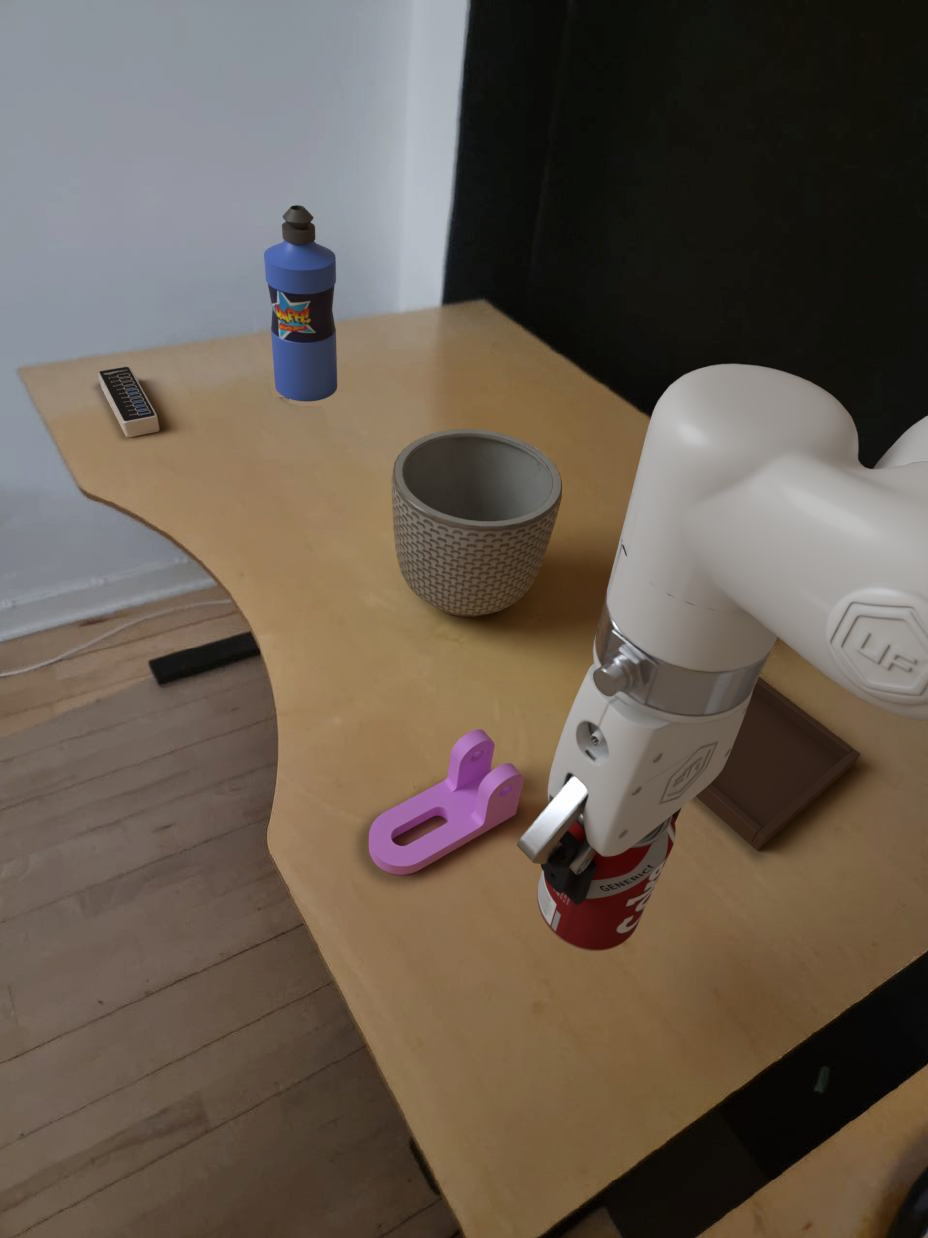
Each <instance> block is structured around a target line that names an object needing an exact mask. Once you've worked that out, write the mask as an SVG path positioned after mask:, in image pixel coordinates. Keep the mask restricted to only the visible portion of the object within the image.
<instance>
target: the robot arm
mask: <svg viewBox="0 0 928 1238" xmlns="http://www.w3.org/2000/svg"><path fill="white" fill-rule="evenodd" d="M647 426H648V427H647V430H646V434H645V438H644V442H643V447H642V450H641V454H640V458H639V461H638V466H637V469H636V474H635V478H634V482H633V486H632V489H631V493H630V497H629V501H628V505H627V509H626V514H625V517H624V521H623V526H622V529H621V533H620V537H619V541H618V545H617V548H616V554H615V556H614V560H613V566H612V569H611V573H610V576H609V579H608V585H607V589H606V592H605V597H604V599H603V600H604V601H603V605H602V609H601V613H600V616H599V620H598V624H597V628H596V633H595V637H594V639H593V647H592V656H593V663H592V665H590V667H589V668H588V670H587V672H586V674H585V676H584V679H583V681H582V683H581V685H580V687H579V688H578V691H577V693H576V696H575V698H574V701H573V703H572V706H571V708H570V711H569V713H568V716H567V718H566V720H565V723H564V726H563V728H562V732H561V734H560V738H559V741H558V744H557V747H556V749H555V753H554V757H553V761H552V765H551V768H550V772H549V777H548V784H547V800H548V805H547V806H546V807H545V808H544V809H543V810H542V811H541V813H540V814H539V815H538V816H537V818H536V819H535V820H534V821H533V822H532V823H531V825H530V826H529V827H528V828H527V829H526V831H525V832H524V833H523V834H522V836H521V837H520V838H518V841H517V843H516V847H518V849H520V851H521V852H522V853H523V854H524V855H525V856H526V857H527V858H528V859H529V860H530V861H531V862H532V863H533V864H537V865H540V867H541V871H542V870H543V871H544V877H545V879H546V880H547V882H548V883H549V884H550V885H551V887H552V888H553V889H554V890H555V891H557V892H558V893H563V892H564V893H565V894H566V895H567V897H568V898H569V899H570V900H571V901H572V902H573V903H574V904H576V905H579V904H581V903H582V902H583V901H584V900H585V899H586V896H587V893H588V891H589V888H590V885H591V882H592V879H593V876H594V873H595V870H596V867H597V866H596V863H595V861H594V860H593V858H594V856H595V855H596V853H597V852H598V853H599V854H601V855H602V856H615V855H618V854H621V853H623V852H624V851H626V850H627V849H629V848H630V847H632V846H633V845H634V844H636V843H637V842H638V841H640V840H641V839H642V838H644V837H645V836H646V835H647V834H649V833H650V832H651V831H652V830H654V829H655V828H656V827H658V826H659V825H660V824H661V823H663V822H664V821H665V820H666V819H668V818H669V817H670V816H671V815H673V817H674V821H675V823H676V822H677V819H678V817H679V815H680V813H681V811H682V809H683V807H684V806H686V805H687V803H689V802H690V801H692V799H694V798H695V797H696V795H697V794H699V793H700V792H701V791H702V790H703V789H705V788H706V787H707V786H708V785H709V784H710V783H711V782H712V781H713V780H714V779H715V778H716V777H717V776H718V775H719V774H720V772H721V771H722V769H723V768H724V766H725V764H726V761H727V759H728V757H729V754H730V752H731V749H732V747H733V744H734V742H735V739H736V737H737V734H738V732H739V729H740V727H741V724H742V721H743V719H744V716H745V713H746V710H747V708H748V705H749V702H750V699H751V696H752V692H753V689H754V687H755V685H756V682H757V680H758V678H759V677H761V674H762V671H763V669H764V667H765V665H766V662H767V661H768V658H769V656H770V654H771V652H772V650H773V648H774V645H775V643H776V641H777V639H780V640H781V641H782V642H783V643H784V644H786V645H787V646H788V647H790V648H791V649H792V650H793V651H795V653H797V654H798V655H799V656H801V657H802V658H803V659H804V660H805V661H806V662H807V663H809V664H810V665H812V666H813V667H814V668H815V669H816V670H818V671H819V672H820V673H822V675H824V676H825V677H827V678H828V679H830V680H831V681H832V682H833V683H835V684H836V685H838V686H839V687H840V688H841V689H843V690H845V691H846V692H848V693H849V694H851V695H853V696H855V697H857V698H858V699H859V700H861V701H863V702H864V703H867V704H869V705H871V706H873V707H875V708H878V709H879V710H882V711H885V712H887V713H890V714H892V715H896V716H898V717H901V718H905V719H908V720H909V719H910V720H913V721H914V720H915V721H918V722H919V721H920V722H928V415H927V416H924V417H923V418H922V419H920V420H918V421H917V422H916V423H914V424H913V425H911V426H910V427H909V428H908V429H907V430H906V431H904V432H903V434H901V435H900V437H899V438H898V439H897V440H895V442H894V443H893V444H892V445H891V447H890V448H888V449H887V451H886V452H885V453H884V454H883V455H882V457H881V458H880V459H879V460H878V461H877V463H875V466H873V468H868V467H866V466H864V465H863V464H862V463H861V461H860V460H859V435H858V431H857V427H856V424H855V422H854V420H853V417H852V415H851V414H850V413H849V411H848V410H847V409H846V408H845V406H844V405H843V404H842V403H841V402H840V401H839V400H838V399H837V398H836V397H835V396H834V395H832V394H831V393H829V392H828V391H827V390H825V389H824V388H822V387H821V386H819V385H817V384H815V383H813V382H812V381H810V380H807V379H805V378H803V377H800V376H798V375H795V374H792V373H789V372H786V371H785V370H779V369H776V368H772V367H766V366H761V365H755V364H742V363H721V364H713V365H708V366H705V367H701V368H697V369H695V370H692V371H690V372H687V373H685V374H683V375H682V376H680V377H679V378H678V379H676V380H675V381H673V383H671V384H670V385H669V386H668V387H667V389H665V391H664V392H663V394H662V395H661V396H660V397H659V399H658V400H657V402H656V403H655V406H654V409H653V410H652V413H651V417H650V421H649V424H648V425H647ZM575 821H576V822H577V823H578V824H579V825H580V826H581V827H582V828H583V829H584V830H585V832H586V837H587V838H586V839H585V841H584V843H583V844H581V843H580V842H579V841H578V840H577V839H576V838H575V837H574V836H573V835H572V834H571V833H570V832H569V831H568V829H569V828H570V827H571V826H572V825H573V823H574V822H575Z"/></svg>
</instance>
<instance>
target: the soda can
mask: <svg viewBox="0 0 928 1238" xmlns="http://www.w3.org/2000/svg"><path fill="white" fill-rule="evenodd" d="M568 831H569V832H570V833H571V834H572V835H573V836H574V837H575V838H576V839H577V840H578V841H579V842H580V843H581V844H583V843H584V841H585V839H586V838H587V837H586V832H585V830H584V829H583V828H582V827H581V826H580V825H579V824H578V823H577V822H576V821H575V822H574V823H573V825H572V826H571V827H570V828H569V829H568ZM676 833H677V829H676V822H675V821H674V817H673V815H671V816H670V817H669V818H668V819H666V820H665V821H664V822H663V823H661V824H660V825H659V826H658V827H656V828H655V829H654V830H652V831H651V832H650V833H649V834H647V835H646V836H645V837H644V838H642V839H641V840H640V841H638V842H637V843H636V844H634V845H633V846H632V847H630V848H629V849H627V850H626V851H624V852H623V853H621V854H618V855H615V856H602V855H601V854H599V853H598V852H597V853H596V855H595V856H594V858H593V860H594V861H595V863H596V866H597V867H596V870H595V873H594V876H593V879H592V882H591V885H590V888H589V891H588V893H587V896H586V899H585V900H584V901H583V902H582V903H581V904H579V905H576V904H574V903H573V902H572V901H571V900H570V899H569V898H568V897H567V895H566V894H565V893H564V892H563V893H558V892H557V891H555V890H554V889H553V888H552V887H551V885H550V884H549V883H548V882H547V880H546V879H545V877H544V871H543V870H542V869H541V873H540V878H539V881H538V885H537V890H536V891H537V893H536V902H537V906H538V910H539V914H540V916H541V918H542V920H543V922H544V923H545V925H546V926H547V928H548V929H549V930H550V931H551V932H552V933H553V935H555V936H556V937H557V938H558V939H560V940H561V941H562V942H564V943H565V944H567V945H569V946H571V947H574V948H576V949H579V950H582V951H583V950H584V951H588V952H589V951H590V952H602V951H608V950H612V949H614V948H617V947H619V946H621V945H622V944H624V943H625V942H626V941H628V940H629V939H630V938H631V937H632V935H633V934H634V933H635V931H636V929H637V927H638V925H639V923H640V920H641V919H642V916H643V914H644V912H645V910H646V907H647V905H648V903H649V901H650V898H651V896H652V894H653V892H654V890H655V887H656V885H657V883H658V881H659V878H660V876H661V874H662V872H663V870H664V867H665V865H666V863H667V861H668V858H669V856H670V854H671V852H672V849H673V847H674V846H675V845H674V844H675V842H676Z"/></svg>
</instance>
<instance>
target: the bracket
mask: <svg viewBox="0 0 928 1238" xmlns="http://www.w3.org/2000/svg"><path fill="white" fill-rule="evenodd" d="M495 746H496V745H495V742H494V741H493V739H491V737H490V736H489V734H487V732H486V731H485V730H484V729H481V728H477V729H473V730H471V731H469V732H467V733H465V734H464V735H463V736H462V737H460V738H459V739H458V740H457V741H456V743H455V744H454V745H453V747H452V748H451V750H450V754H449V762H448V763H449V765H448V772H447V776H446V778H445V779H444V780H443V781H441V782H438V783H437V784H435V785H433V786H431V787H429V788H427V789H426V790H424V791H422V792H420V793H418V794H416V795H414V796H412V797H410V798H409V799H407V800H405V801H402V802H401V803H399V804H397V805H395V806H393V807H392V808H390V809H387V810H386V811H384V812H382V813H381V814H380V815H379V816H377V817H376V818H375V819H374V821H373V822H372V824H371V826H370V828H369V831H368V852H369V856H370V857H371V860H372V861H373V863H374V864H375V866H377V867H378V868H379V869H381V870H382V871H384V872H386V873H389V874H392V875H398V876H405V875H407V876H408V875H412V874H414V873H416V872H418V871H420V870H422V869H424V868H426V867H427V866H429V865H431V864H432V863H434V862H436V861H438V860H440V859H441V858H443V857H445V856H446V855H448V854H450V853H451V852H454V851H455V850H457V849H459V848H460V847H462V846H464V845H465V844H467V843H470V842H471V841H472V840H475V839H476V838H478V837H479V836H481V835H483V834H485V833H487V832H488V831H489V830H491V829H493V828H495V827H497V826H498V825H500V824H502V823H503V822H506V821H507V820H509V819H510V818H513V817H514V816H516V815H517V811H518V806H519V802H520V798H521V794H522V789H523V785H524V781H525V778H524V776H523V774H522V773H521V772H520V771H519V770H518V769H517V768H516V766H515V765H514V764H513V763H511V762H505V763H503V764H500V765H498V766H496V767H495V768H493V769H492V764H493V763H492V762H493V757H494V752H495ZM491 769H492V770H491ZM434 817H442V818H444V819H445V820H446V822H445V823H444V824H442V825H441V826H439V827H437V828H434V829H433V830H432V831H430V832H427V833H426V834H424V835H422V836H421V837H419V838H417V839H415V840H414V841H412V842H410V843H408V844H406V845H398V844H396V843H395V842H394V841H393V840H394V839H395V838H396V837H398V836H400V835H402V834H403V833H405V832H407V831H409V830H411V829H413V828H415V827H416V826H418V825H420V824H422V823H424V822H426V821H428V820H429V819H431V818H434Z"/></svg>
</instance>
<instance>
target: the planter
mask: <svg viewBox="0 0 928 1238" xmlns="http://www.w3.org/2000/svg"><path fill="white" fill-rule="evenodd" d="M390 480H391V481H390V484H391V485H390V486H391V488H390V489H391V491H390V492H391V506H392V507H391V509H392V526H393V527H392V528H393V538H394V547H395V554H396V558H397V559H396V560H397V564H398V566H399V570H400V573H401V575H402V577H403V579H404V581H405V583H406V584H407V587H408V588H409V589H410V590H411V591H412V592H413V593H414V594H415V595H416V596H417V597H418V598H419V599H421V600H422V601H424V602H425V603H427V605H430V606H432V607H434V608H435V609H438V610H440V611H441V612H443V613H445V614H448V615H450V616H454V617H457V618H458V617H459V618H477V617H482V616H484V615H488V614H493V613H497V612H500V611H502V610H505V609H507V608H508V607H510V606H512V605H514V604H516V603H517V602H518V601H520V600H521V599H522V598H523V597H524V596H525V595H526V593H527V592H528V591H529V590H530V589H531V587H532V586H533V584H534V582H535V580H536V578H537V576H538V574H539V572H540V570H541V568H542V565H543V563H544V559H545V556H546V553H547V551H548V548H549V545H550V542H551V541H550V540H551V538H552V536H553V531H554V528H555V525H556V521H557V518H558V515H559V512H560V511H559V510H560V506H561V502H562V498H563V480H562V477H561V473H560V471H559V470H558V468H557V466H556V465H555V463H554V462H553V461H552V460H551V459H550V458H549V457H548V456H547V455H546V454H545V453H544V452H543V451H541V450H540V449H538V448H537V447H535V446H534V445H533V444H530V443H528V442H526V441H524V440H522V439H520V438H518V437H514V436H512V435H509V434H504V433H502V432H497V431H494V430H493V431H492V430H488V429H487V430H486V429H479V428H478V429H476V428H457V429H448V430H442V431H438V432H434V433H433V432H432V433H429V434H427V435H425V436H422V437H420V438H418V439H416V440H414V441H413V442H410V443H409V444H408V445H406V446H405V447H404V448H403V449H402V451H400V453H399V454H398V455H397V457H396V458H395V461H394V463H393V467H392V473H391V479H390Z"/></svg>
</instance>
